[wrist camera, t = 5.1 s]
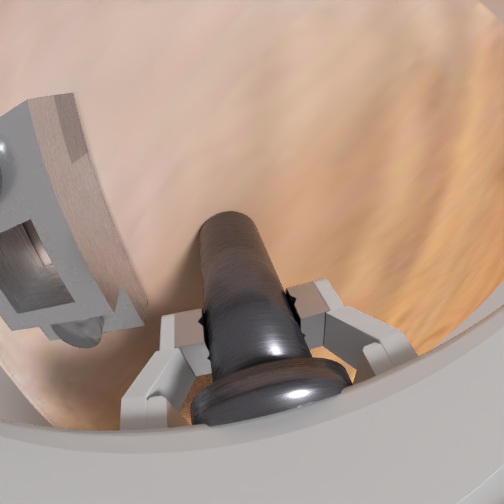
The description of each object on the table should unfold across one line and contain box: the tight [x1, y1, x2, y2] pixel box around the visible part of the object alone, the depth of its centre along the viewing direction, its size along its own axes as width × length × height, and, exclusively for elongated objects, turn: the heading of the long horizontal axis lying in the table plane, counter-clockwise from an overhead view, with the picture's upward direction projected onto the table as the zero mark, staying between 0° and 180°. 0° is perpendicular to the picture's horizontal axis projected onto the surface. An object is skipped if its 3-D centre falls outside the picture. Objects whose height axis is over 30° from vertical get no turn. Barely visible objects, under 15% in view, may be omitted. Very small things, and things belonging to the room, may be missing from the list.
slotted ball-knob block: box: [0, 93, 148, 348], centre depth 10 cm, size 12×7×5 cm, turn 8°
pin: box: [191, 211, 353, 427], centre depth 10 cm, size 4×4×10 cm
